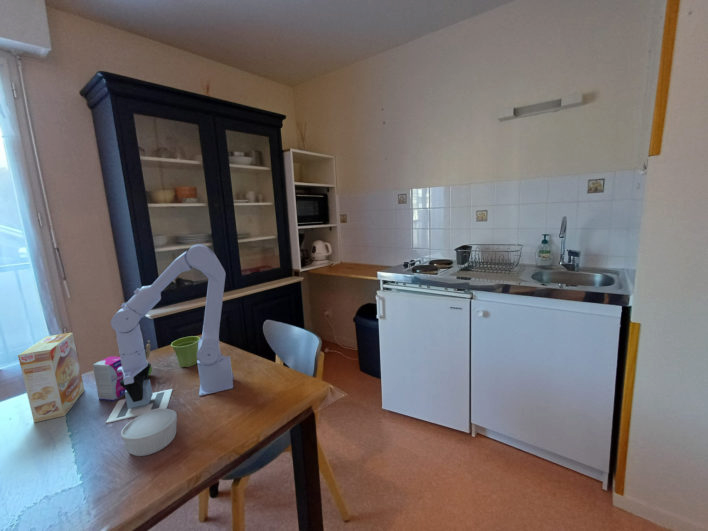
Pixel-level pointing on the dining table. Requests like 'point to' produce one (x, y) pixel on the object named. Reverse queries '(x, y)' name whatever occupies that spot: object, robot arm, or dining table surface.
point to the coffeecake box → (51, 376)
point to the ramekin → (150, 432)
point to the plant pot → (186, 350)
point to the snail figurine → (148, 355)
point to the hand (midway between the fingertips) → (140, 395)
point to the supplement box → (109, 379)
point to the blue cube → (146, 396)
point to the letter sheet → (156, 402)
